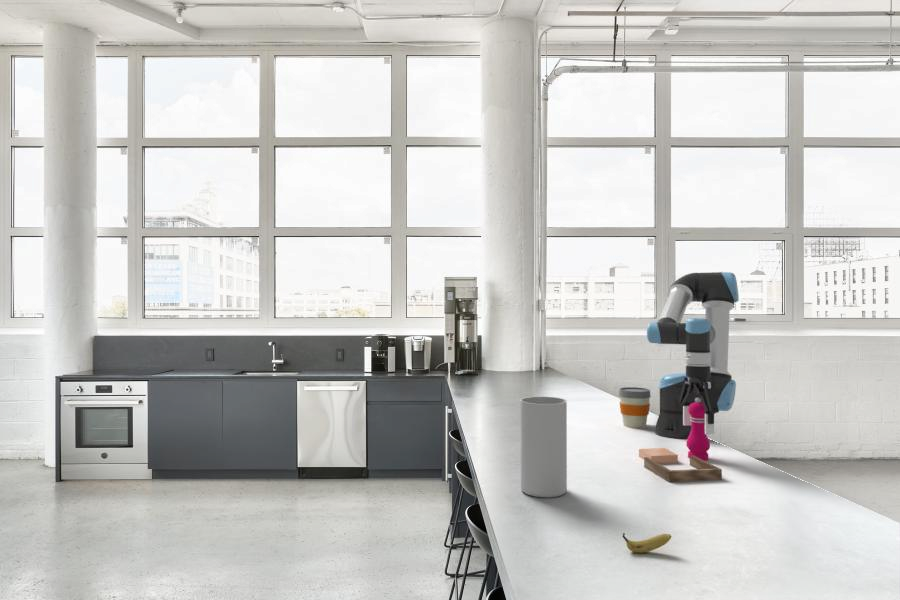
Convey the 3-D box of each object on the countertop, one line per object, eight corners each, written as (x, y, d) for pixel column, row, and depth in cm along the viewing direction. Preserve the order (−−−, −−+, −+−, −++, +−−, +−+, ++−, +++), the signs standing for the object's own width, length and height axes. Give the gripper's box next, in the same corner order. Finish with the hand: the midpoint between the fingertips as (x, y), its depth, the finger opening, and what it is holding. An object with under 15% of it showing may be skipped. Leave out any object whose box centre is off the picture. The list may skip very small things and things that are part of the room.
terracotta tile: (664, 456, 204) (664, 448, 204) (677, 464, 196) (677, 454, 196) (638, 457, 203) (638, 448, 203) (651, 465, 194) (651, 456, 194)
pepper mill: (685, 459, 200) (685, 398, 200) (687, 454, 206) (687, 395, 206) (708, 462, 196) (708, 400, 196) (710, 456, 203) (710, 396, 203)
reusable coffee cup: (612, 424, 255) (612, 388, 255) (635, 421, 260) (635, 386, 260) (633, 430, 244) (633, 392, 244) (657, 427, 249) (657, 390, 249)
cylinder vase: (531, 500, 160) (531, 405, 160) (514, 486, 172) (513, 397, 172) (574, 496, 163) (574, 402, 163) (554, 482, 175) (554, 395, 175)
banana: (669, 550, 128) (669, 531, 128) (673, 555, 126) (673, 536, 126) (620, 549, 129) (620, 531, 129) (623, 554, 126) (623, 535, 126)
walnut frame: (693, 464, 193) (693, 455, 193) (721, 479, 177) (721, 469, 177) (644, 466, 191) (644, 457, 191) (668, 482, 175) (668, 471, 175)
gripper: (668, 361, 213) (668, 422, 213) (708, 369, 188) (708, 438, 188) (689, 361, 214) (689, 421, 214) (730, 369, 189) (730, 437, 189)
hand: (698, 429), depth 201 cm, fingers open, 13 cm apart
